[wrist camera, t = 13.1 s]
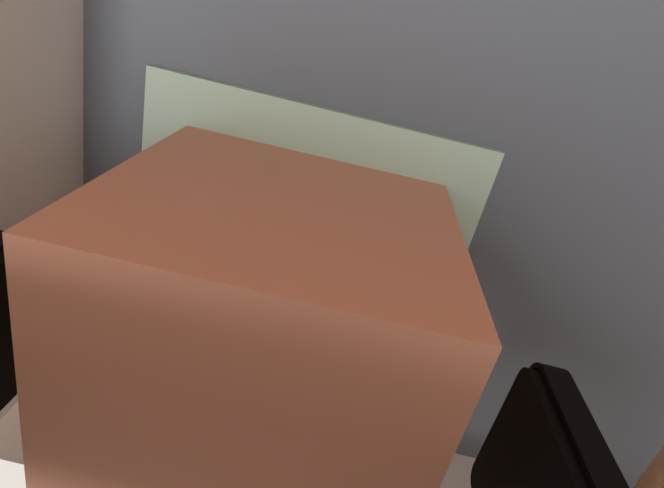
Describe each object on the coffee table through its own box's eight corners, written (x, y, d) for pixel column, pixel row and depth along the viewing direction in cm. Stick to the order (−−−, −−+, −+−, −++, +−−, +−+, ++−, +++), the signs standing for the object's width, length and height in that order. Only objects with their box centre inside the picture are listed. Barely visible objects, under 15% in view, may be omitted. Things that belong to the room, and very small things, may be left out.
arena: (1005, -67, 9) (1422, -118, 5) (603, 506, 16) (667, 650, 12) (32, -313, 9) (-212, -537, 5) (55, 373, 16) (-43, 481, 12)
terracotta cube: (445, 185, 11) (502, 347, 6) (379, 385, 14) (377, 626, 8) (186, 125, 11) (1, 231, 6) (169, 337, 14) (32, 547, 8)
